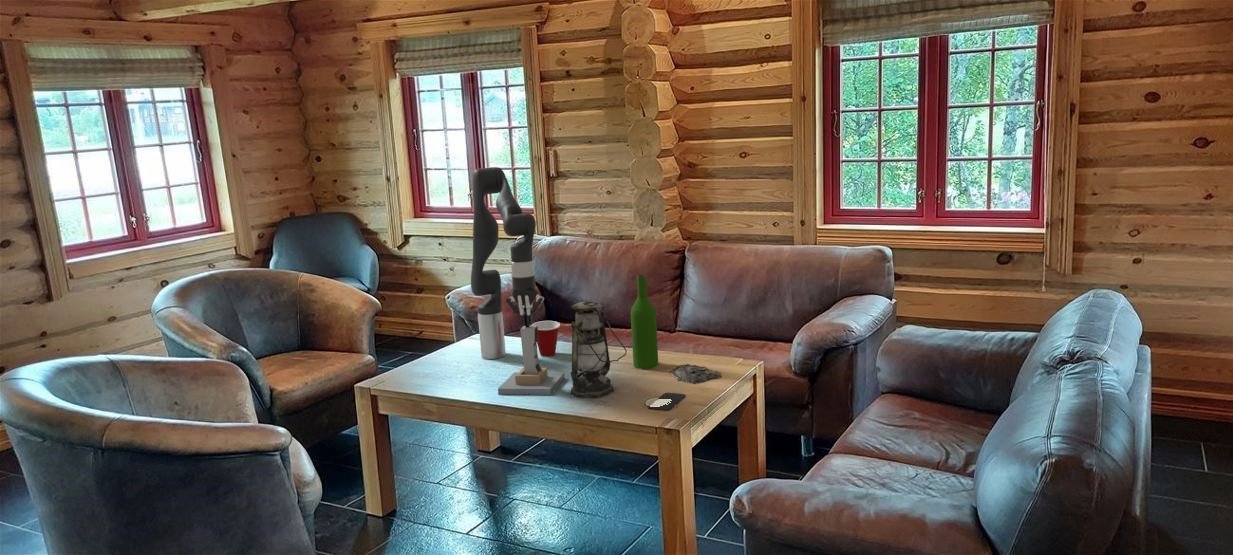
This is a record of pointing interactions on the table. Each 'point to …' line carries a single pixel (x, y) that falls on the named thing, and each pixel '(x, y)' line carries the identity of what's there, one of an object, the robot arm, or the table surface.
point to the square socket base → (532, 383)
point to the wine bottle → (644, 329)
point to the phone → (675, 400)
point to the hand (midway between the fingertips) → (527, 325)
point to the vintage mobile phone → (530, 348)
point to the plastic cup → (547, 337)
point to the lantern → (590, 352)
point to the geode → (694, 373)
